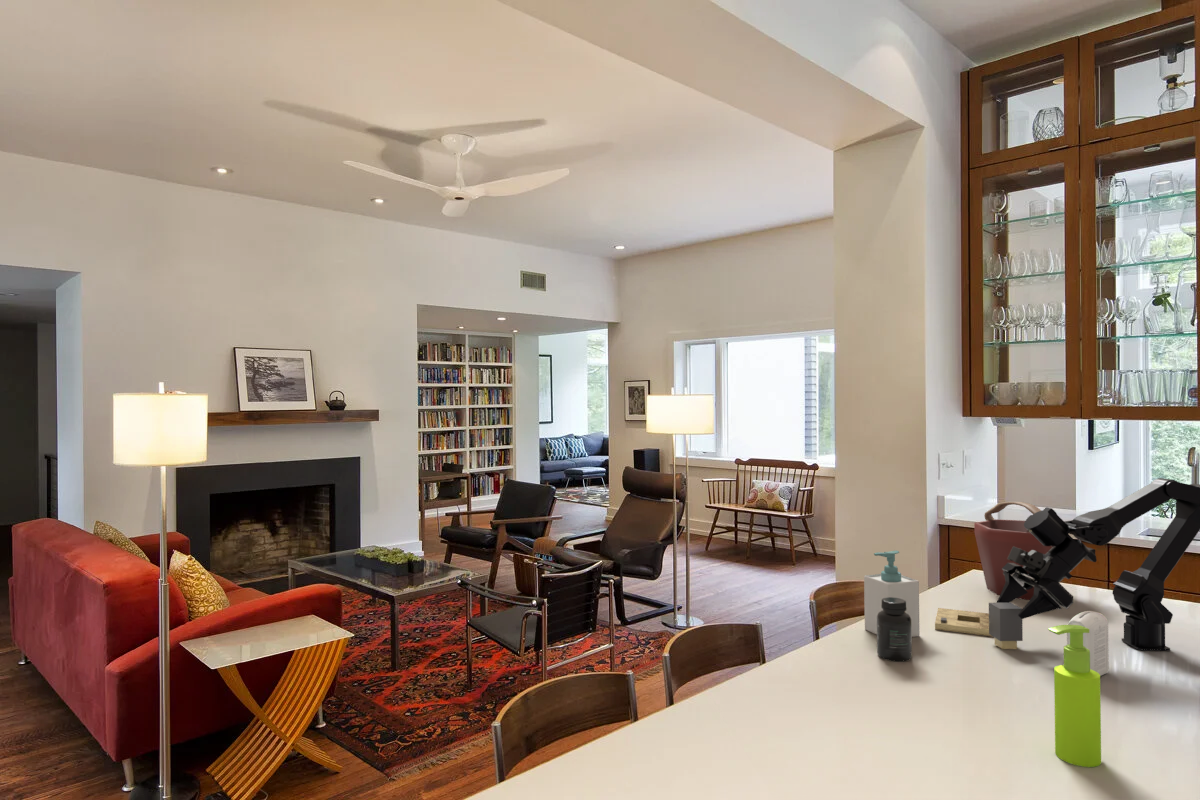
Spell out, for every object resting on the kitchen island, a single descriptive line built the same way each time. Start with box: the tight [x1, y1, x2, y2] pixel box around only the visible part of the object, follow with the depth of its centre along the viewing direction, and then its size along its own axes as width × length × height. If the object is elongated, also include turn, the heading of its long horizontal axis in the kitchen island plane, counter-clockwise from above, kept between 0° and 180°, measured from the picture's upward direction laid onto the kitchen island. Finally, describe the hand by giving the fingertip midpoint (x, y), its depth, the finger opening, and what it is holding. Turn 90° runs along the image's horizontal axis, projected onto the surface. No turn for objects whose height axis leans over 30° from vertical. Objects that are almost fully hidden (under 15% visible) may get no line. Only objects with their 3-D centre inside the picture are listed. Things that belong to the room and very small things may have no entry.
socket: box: [934, 607, 994, 638], centre depth 176 cm, size 14×14×2 cm
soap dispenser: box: [1047, 624, 1102, 768], centre depth 111 cm, size 6×7×20 cm
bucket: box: [973, 501, 1053, 601], centre depth 205 cm, size 24×22×25 cm
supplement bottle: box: [876, 597, 913, 663], centre depth 155 cm, size 7×7×12 cm
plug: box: [988, 602, 1024, 650], centre depth 161 cm, size 5×5×9 cm
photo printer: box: [1066, 610, 1110, 677], centre depth 144 cm, size 10×4×12 cm, turn 123°
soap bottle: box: [863, 550, 921, 638], centre depth 171 cm, size 9×9×19 cm
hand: (1008, 611), depth 161 cm, fingers open, 9 cm apart
